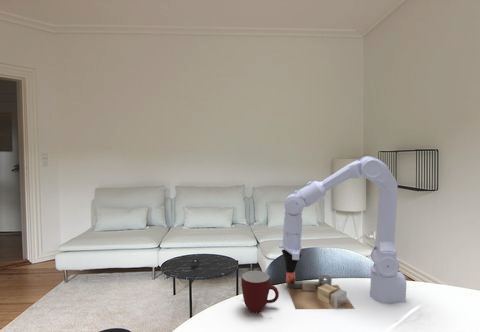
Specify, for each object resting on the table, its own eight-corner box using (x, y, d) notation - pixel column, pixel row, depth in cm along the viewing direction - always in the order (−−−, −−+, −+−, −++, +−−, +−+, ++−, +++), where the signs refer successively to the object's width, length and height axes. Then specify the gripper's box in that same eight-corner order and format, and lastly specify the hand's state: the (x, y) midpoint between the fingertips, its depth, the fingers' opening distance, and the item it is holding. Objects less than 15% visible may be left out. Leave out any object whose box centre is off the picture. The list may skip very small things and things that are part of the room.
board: (337, 288, 107) (337, 285, 107) (354, 311, 92) (354, 308, 92) (286, 288, 106) (286, 285, 106) (295, 312, 92) (295, 309, 92)
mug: (276, 302, 97) (276, 270, 96) (280, 317, 89) (280, 282, 88) (240, 303, 97) (241, 270, 96) (241, 318, 89) (241, 282, 88)
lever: (329, 284, 106) (330, 270, 106) (333, 291, 102) (333, 276, 101) (285, 283, 107) (285, 268, 106) (286, 290, 102) (287, 274, 102)
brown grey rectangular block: (340, 300, 96) (340, 289, 96) (346, 303, 95) (346, 291, 95) (330, 306, 93) (330, 294, 93) (336, 308, 92) (336, 297, 91)
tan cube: (325, 294, 100) (326, 283, 100) (336, 299, 97) (337, 288, 97) (317, 298, 98) (317, 287, 97) (328, 304, 94) (328, 292, 94)
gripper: (276, 225, 110) (274, 263, 112) (283, 239, 96) (281, 283, 97) (297, 225, 111) (294, 264, 112) (307, 239, 96) (304, 283, 97)
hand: (289, 273), depth 105 cm, fingers closed, pressing on lever
